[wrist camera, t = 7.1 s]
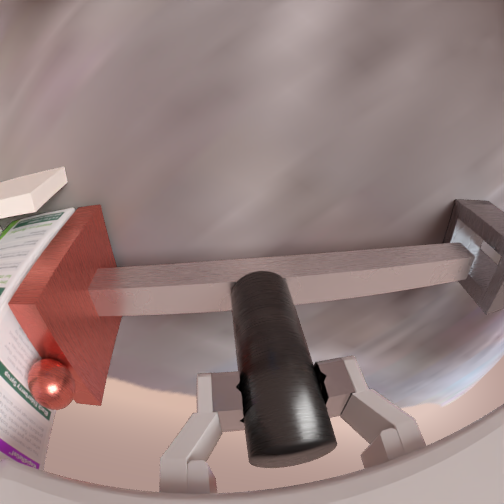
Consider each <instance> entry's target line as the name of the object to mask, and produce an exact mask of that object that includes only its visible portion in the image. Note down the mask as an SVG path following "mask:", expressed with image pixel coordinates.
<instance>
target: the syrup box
mask: <svg viewBox="0 0 504 504" xmlns="http://www.w3.org/2000/svg"><path fill="white" fill-rule="evenodd" d="M74 212H75V209H74V208H73V207H72V208H68V209H64V210H58V211H54V212H47V213H43V214H39V215H35V216H31V217H27V218H23V219H20V220H16V221H13V222H11V224H10V225H9V226H8V227H7V228H6V229H5V230H4V231H3V232H2V233H1V234H0V461H1V460H2V459H11V460H14V461H16V462H19V463H22V464H24V465H27V466H30V467H33V468H36V469H39V470H42V471H43V470H44V464H45V458H46V453H47V448H48V443H49V439H50V434H51V430H52V425H53V420H54V417H55V413H56V410H51V409H47V408H45V407H43V406H41V405H40V404H39V403H38V402H36V400H35V399H34V398H33V397H32V395H31V393H30V391H29V388H28V373H29V371H30V369H31V367H32V366H33V365H34V364H35V363H36V362H37V361H39V360H42V358H41V356H40V355H39V354H38V352H37V351H36V349H35V348H34V346H33V345H32V343H31V342H30V340H29V339H28V337H27V335H26V334H25V332H24V331H23V329H22V327H21V326H20V324H19V323H18V321H17V319H16V317H15V316H14V314H13V312H12V311H11V309H10V307H9V305H8V303H9V301H10V300H11V298H12V297H13V295H14V293H15V292H16V290H17V289H18V287H19V286H20V284H21V283H22V281H23V280H24V278H25V277H26V275H27V274H28V272H29V271H30V269H31V268H32V266H33V265H34V264H35V262H36V261H37V259H38V258H39V257H40V255H41V254H42V253H43V251H44V250H45V249H46V247H47V246H48V245H49V243H50V242H51V241H52V239H53V238H54V237H55V235H56V234H57V233H58V232H59V230H60V229H61V228H62V227H63V225H64V224H65V223H66V222H67V221H68V219H69V218H70V217H71V216H72V215H73V213H74Z"/></svg>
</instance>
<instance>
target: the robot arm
mask: <svg viewBox="0 0 504 504" xmlns="http://www.w3.org/2000/svg"><path fill="white" fill-rule="evenodd" d="M314 369H315V372H316V375H317V378H318V382H319V385H320V388H321V391H322V395H323V398H324V401H325V405H326V408H327V411H328V415H329V418H330V417H335V416H341V418H342V419H343V420H344V421H346V422H347V423H348V424H349V425H350V426H351V427H352V428H353V429H354V430H355V431H356V432H358V433H359V434H360V435H361V436H362V437H363V438H364V439H365V440H366V441H367V442H368V443H369V444H370V445H369V446H368V447H367V448H366V449H365V451H364V452H363V453H362V454H361V458H362V461H363V465H364V468H365V469H363V470H359V471H356V472H352V473H349V474H345V475H341V476H337V477H333V478H329V479H325V480H320V481H315V482H311V483H305V484H300V485H294V486H289V487H283V488H275V489H267V490H258V491H248V492H235V493H217V486H216V478H215V476H214V475H213V473H212V471H211V469H210V467H209V465H208V463H207V462H206V461H207V460H208V458H209V456H210V454H211V452H212V451H213V449H214V447H215V446H216V444H217V442H218V440H219V439H220V436H221V435H222V432H227V431H239V430H245V428H244V415H243V405H242V395H241V387H240V377H239V371H237V372H221V373H199V374H197V413H193V414H192V415H191V417H190V418H189V419H188V421H187V422H186V424H185V425H184V427H183V428H182V429H181V431H180V432H179V433H178V435H177V436H176V438H175V439H174V440H173V442H172V443H171V444H170V446H169V447H168V448H167V450H166V451H165V453H164V454H163V455H162V457H161V458H160V492H149V491H140V490H130V489H123V488H116V487H110V486H104V485H99V484H94V483H88V482H84V481H79V480H75V479H71V478H67V477H63V476H60V475H56V474H52V473H49V472H45V471H42V470H39V469H36V468H33V467H30V466H27V465H24V464H22V463H19V462H16V461H14V460H11V459H2V460H1V461H0V504H504V404H503V405H501V406H500V407H498V408H497V409H495V410H493V411H492V412H490V413H489V414H487V415H485V416H484V417H482V418H480V419H479V420H477V421H475V422H473V423H471V424H470V425H468V426H466V427H464V428H462V429H461V430H459V431H457V432H455V433H453V434H451V435H449V436H447V437H445V438H443V439H441V440H438V441H436V442H434V443H432V444H430V445H427V446H426V444H425V442H424V439H423V437H422V435H421V432H420V430H419V427H418V425H417V423H416V420H415V419H414V418H413V417H412V416H410V415H409V414H407V413H405V412H404V411H403V410H401V409H400V408H399V407H397V406H396V405H394V404H393V403H392V402H390V401H389V400H387V399H386V398H385V397H383V396H382V395H380V394H379V393H378V392H376V391H375V390H373V389H368V386H367V384H366V381H365V379H364V377H363V374H362V372H361V370H360V367H359V365H358V362H357V360H356V358H355V357H354V356H347V357H342V358H335V359H330V360H324V361H319V362H316V363H315V364H314Z"/></svg>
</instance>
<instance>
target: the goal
mask: <svg viewBox="0 0 504 504" xmlns="http://www.w3.org/2000/svg"><path fill="white" fill-rule="evenodd" d="M66 183H68V182H67V177H66V172H65V167H60V168H55V169H51V170H46V171H42V172H38V173H34V174H30V175H26V176H22V177H18V178H14V179H11V180H7V181H4V182H0V219H1V218H6V217H11V216H16V215H21V214H27V213H32V212H36V211H37V210H38V209H39V208H40V207H41V206H42V205H43V204H44V203H46V202H47V201H48V200H49V199H50V198H51V197H52V196H53V195H54V194H55V193H56V192H57V191H58V190H60V189H61V188H62V187H63V186H64V185H65V184H66ZM1 233H2V230H1V227H0V234H1Z"/></svg>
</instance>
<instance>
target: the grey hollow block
mask: <svg viewBox="0 0 504 504" xmlns="http://www.w3.org/2000/svg"><path fill="white" fill-rule="evenodd" d="M483 240H484V241H485V242H487V243H488V244H489V245H490V246H491V247H492V248H493V249H494V250H495V251H496V252H498V253H499V254H500V255H501V256H502V257H501V259H500V262H499V264H498V265H497V264H496V263H495V262H494V261H493V260H492V259H491V258H490V257H489V256H488V255H486V254H485V253H484V252H483V251H482V250H481V249H480V247H481V244H482V241H483ZM455 242H460V243H461V244H462V245H463V246H465V247H466V248H467V249H468V250H469V251H470V252H471V253H472V254H473V255H474V256H475V259H474V261H473V264H472V266H471V269H470V271H469V273H468V276H467V278H466V279H464V280H459V281H458V282H459V283H460V284H461V285H462V286H463V288H464V289H465V290H466V291H467V292H468V293H469V295H470V296H471V297H472V298H473V299H474V301H475V302H476V303H477V304H478V306H479V307H480V308H481V309H482V310H483V312H484V313H485V314H486V315H487V314H490V313H493V312H495V311H498V310H501V309H504V212H503V211H502V210H500V209H499V208H497V207H496V206H495V205H493V204H492V203H490V202H489V201H480V200H460V199H456V200H455V204H454V207H453V211H452V215H451V218H450V222H449V225H448V229H447V232H446V235H445V238H444V242H443V243H455Z"/></svg>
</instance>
